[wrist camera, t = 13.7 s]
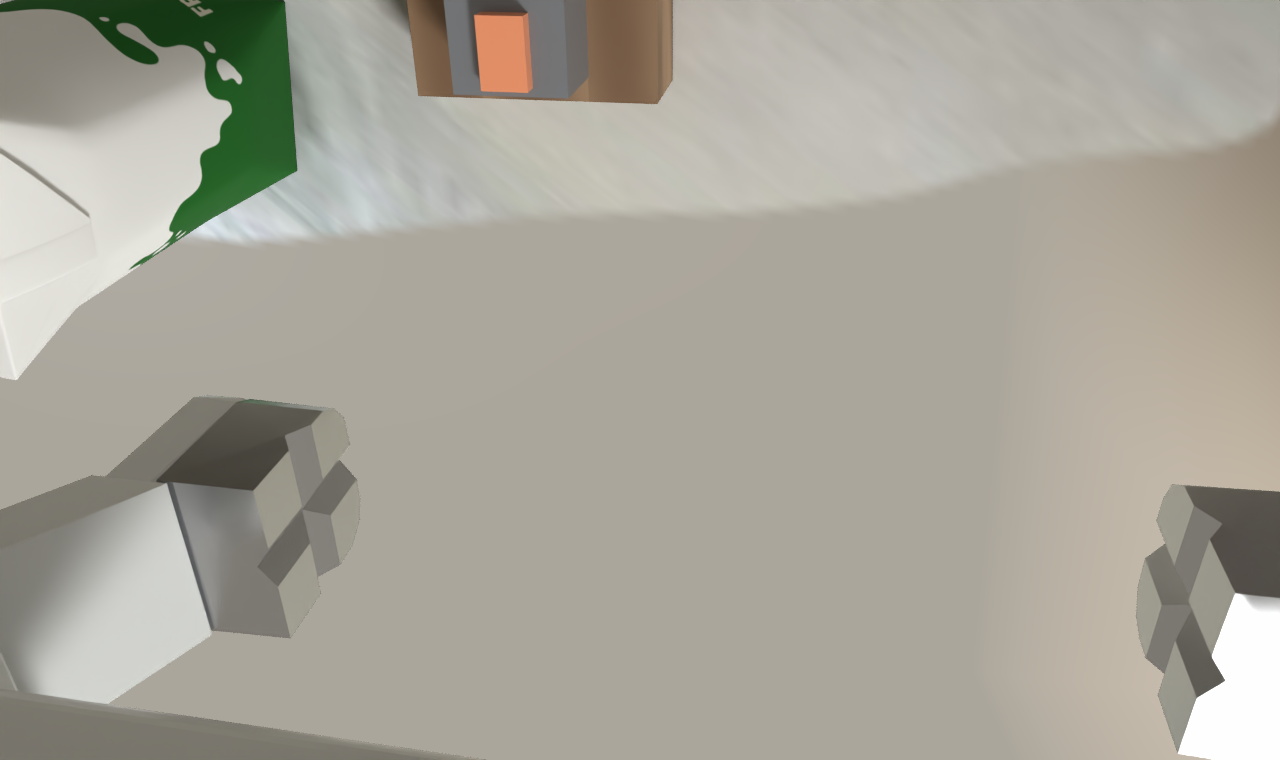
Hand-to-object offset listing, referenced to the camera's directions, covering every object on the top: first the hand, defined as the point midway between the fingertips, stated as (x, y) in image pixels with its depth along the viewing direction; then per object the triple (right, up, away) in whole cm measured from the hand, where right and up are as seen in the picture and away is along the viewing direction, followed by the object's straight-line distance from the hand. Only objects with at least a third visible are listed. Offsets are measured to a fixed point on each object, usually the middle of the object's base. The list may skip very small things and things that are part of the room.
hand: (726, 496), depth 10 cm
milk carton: (-19, +14, +33) cm, 40 cm away
